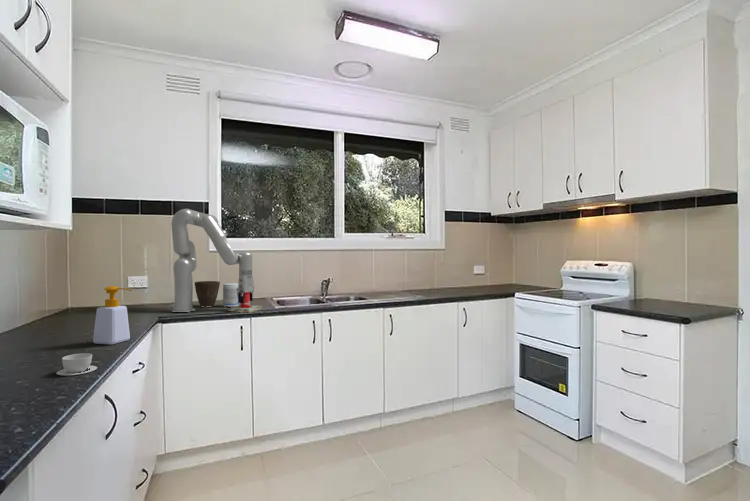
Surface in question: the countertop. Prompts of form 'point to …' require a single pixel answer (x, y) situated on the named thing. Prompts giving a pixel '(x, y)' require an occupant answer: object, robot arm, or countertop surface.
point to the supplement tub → (230, 294)
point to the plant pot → (207, 292)
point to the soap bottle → (111, 321)
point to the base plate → (245, 309)
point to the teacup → (76, 364)
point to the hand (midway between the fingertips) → (245, 301)
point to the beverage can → (246, 300)
